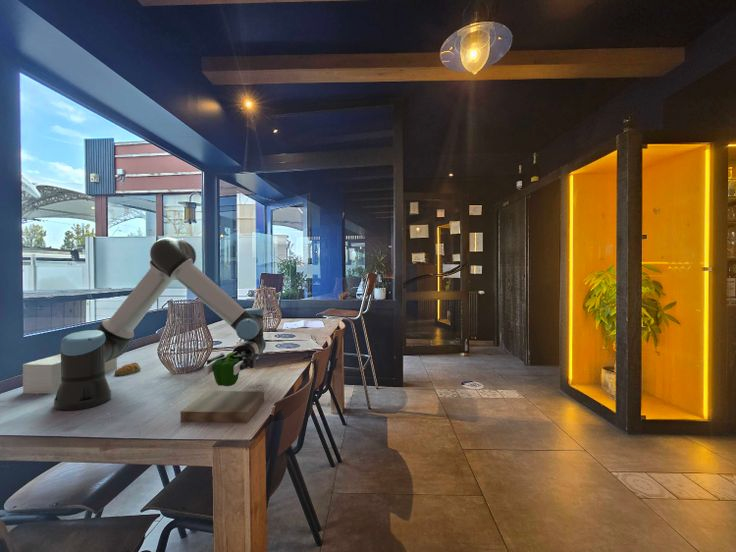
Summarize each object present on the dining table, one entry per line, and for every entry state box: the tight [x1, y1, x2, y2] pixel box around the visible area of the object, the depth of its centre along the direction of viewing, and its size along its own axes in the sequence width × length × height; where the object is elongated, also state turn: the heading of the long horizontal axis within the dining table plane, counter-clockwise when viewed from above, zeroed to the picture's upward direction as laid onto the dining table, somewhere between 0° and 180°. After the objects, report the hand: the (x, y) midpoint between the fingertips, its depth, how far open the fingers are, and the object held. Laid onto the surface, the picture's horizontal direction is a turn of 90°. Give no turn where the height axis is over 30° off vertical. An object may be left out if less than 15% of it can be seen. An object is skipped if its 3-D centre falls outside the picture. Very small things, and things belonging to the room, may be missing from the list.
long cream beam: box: [22, 353, 118, 395], centre depth 144 cm, size 32×11×11 cm, turn 178°
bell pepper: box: [212, 352, 240, 387], centre depth 116 cm, size 8×8×10 cm
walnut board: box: [179, 390, 265, 423], centre depth 116 cm, size 20×18×3 cm
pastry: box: [114, 362, 142, 377], centre depth 154 cm, size 9×7×4 cm
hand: (220, 370), depth 111 cm, fingers closed on bell pepper, 8 cm apart
